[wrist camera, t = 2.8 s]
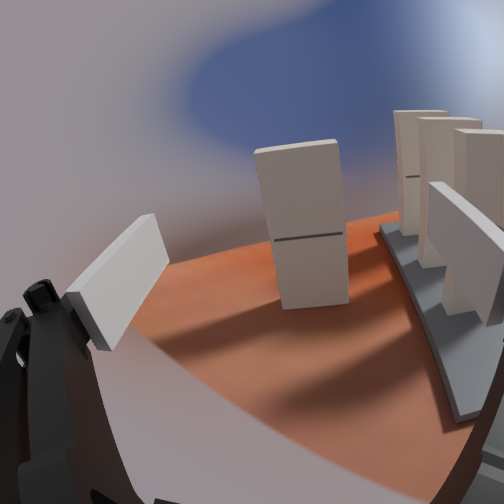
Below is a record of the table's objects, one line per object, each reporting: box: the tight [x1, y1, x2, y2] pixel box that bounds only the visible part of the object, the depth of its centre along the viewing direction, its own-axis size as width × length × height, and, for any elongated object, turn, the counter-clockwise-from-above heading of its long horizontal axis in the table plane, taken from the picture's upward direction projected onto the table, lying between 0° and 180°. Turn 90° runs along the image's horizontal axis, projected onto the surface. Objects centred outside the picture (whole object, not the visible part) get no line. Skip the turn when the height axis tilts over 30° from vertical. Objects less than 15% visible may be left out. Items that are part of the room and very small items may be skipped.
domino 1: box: [254, 139, 349, 310], centre depth 25 cm, size 2×6×14 cm, turn 82°
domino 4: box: [441, 129, 504, 316], centre depth 18 cm, size 2×6×14 cm, turn 82°
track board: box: [380, 222, 504, 424], centre depth 24 cm, size 27×10×1 cm, turn 172°
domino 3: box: [417, 117, 482, 269], centre depth 24 cm, size 2×6×14 cm, turn 83°
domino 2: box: [393, 110, 449, 236], centre depth 30 cm, size 2×6×14 cm, turn 83°
